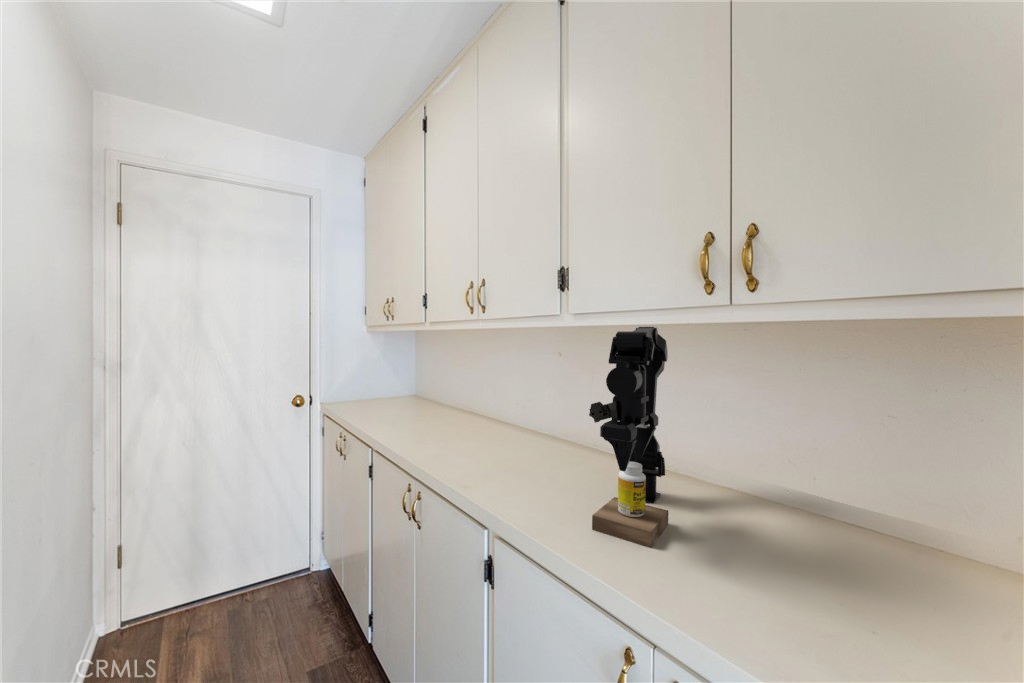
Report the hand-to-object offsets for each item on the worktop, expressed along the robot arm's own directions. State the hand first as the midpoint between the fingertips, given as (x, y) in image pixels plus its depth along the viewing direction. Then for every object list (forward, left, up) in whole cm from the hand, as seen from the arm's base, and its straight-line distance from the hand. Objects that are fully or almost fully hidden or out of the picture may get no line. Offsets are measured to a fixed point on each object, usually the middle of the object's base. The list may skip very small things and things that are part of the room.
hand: (630, 465), depth 85 cm
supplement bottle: (0, 0, -10) cm, 10 cm away
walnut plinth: (0, 0, -13) cm, 13 cm away
